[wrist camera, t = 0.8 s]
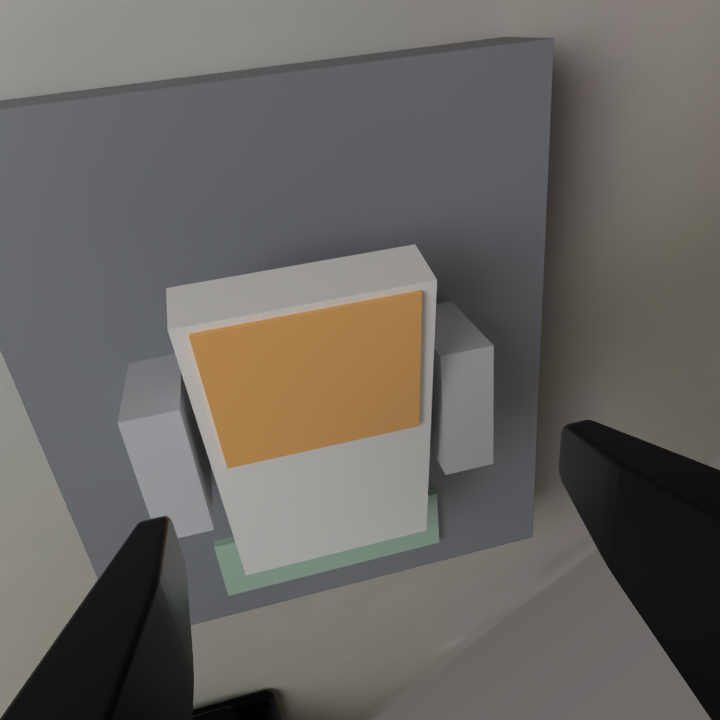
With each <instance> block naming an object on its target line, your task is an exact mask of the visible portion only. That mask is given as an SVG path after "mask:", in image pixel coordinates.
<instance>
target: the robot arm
mask: <svg viewBox="0 0 720 720" xmlns="http://www.w3.org/2000/svg"><path fill="white" fill-rule="evenodd" d="M559 473H560V477H561V480H562V483H563V485H564V487H565V488H566V490H567V492H568V494H569V496H570V498H571V500H572V502H573V503H574V505H575V507H576V509H577V511H578V513H579V515H580V517H581V518H582V520H583V522H584V524H585V526H586V528H587V530H588V532H589V533H590V535H591V537H592V539H593V541H594V543H595V545H596V547H597V548H598V550H599V552H600V554H601V556H602V557H603V559H604V561H605V563H606V564H607V566H608V568H609V569H610V571H611V572H612V574H613V575H614V577H615V578H616V580H617V581H618V583H619V584H620V586H621V587H622V589H623V590H624V592H625V593H626V595H627V596H628V598H629V599H630V601H631V602H632V604H633V605H634V606H635V608H636V609H637V611H638V612H639V614H640V615H641V617H642V618H643V620H644V621H645V622H646V624H647V625H648V627H649V628H650V630H651V631H652V633H653V634H654V636H655V637H656V638H657V640H658V642H659V643H660V645H661V646H662V648H663V649H664V651H665V652H666V653H667V655H668V656H669V658H670V659H671V661H672V662H673V664H674V665H675V667H676V668H677V669H678V671H679V673H680V674H681V676H682V677H683V678H684V680H685V681H686V683H687V684H688V686H689V687H690V689H691V690H692V692H693V693H694V695H695V696H696V697H697V699H698V700H699V702H700V703H701V705H702V706H703V708H704V709H705V711H706V712H707V714H708V715H709V717H710V718H711V719H712V720H720V470H718V469H715V468H713V467H710V466H708V465H705V464H702V463H700V462H697V461H695V460H692V459H690V458H687V457H684V456H682V455H679V454H677V453H674V452H672V451H669V450H667V449H664V448H661V447H659V446H656V445H654V444H651V443H649V442H646V441H643V440H641V439H638V438H636V437H633V436H631V435H628V434H626V433H623V432H620V431H618V430H615V429H613V428H610V427H608V426H605V425H602V424H600V423H597V422H595V421H592V420H584V421H579V422H575V423H570V424H567V425H566V426H564V427H563V429H562V432H561V443H560V456H559ZM193 692H194V671H193V652H192V638H191V625H190V611H189V598H188V584H187V572H186V565H185V560H184V557H183V553H182V550H181V547H180V544H179V541H178V538H177V535H176V532H175V528H174V525H173V523H172V520H171V519H170V518H169V517H168V516H161V517H157V518H152V519H148V520H143V521H141V522H139V523H138V524H137V525H136V526H135V528H134V529H133V531H132V532H131V533H130V535H129V536H128V538H127V539H126V540H125V542H124V543H123V545H122V546H121V548H120V549H119V550H118V552H117V553H116V555H115V556H114V558H113V559H112V560H111V562H110V563H109V565H108V566H107V568H106V569H105V570H104V572H103V573H102V575H101V576H100V577H99V579H98V580H97V582H96V583H95V585H94V586H93V587H92V589H91V590H90V592H89V593H88V595H87V596H86V597H85V599H84V600H83V602H82V603H81V605H80V606H79V607H78V609H77V610H76V612H75V613H74V615H73V616H72V617H71V619H70V620H69V622H68V623H67V624H66V626H65V627H64V629H63V630H62V632H61V633H60V634H59V636H58V637H57V639H56V640H55V642H54V643H53V644H52V646H51V647H50V649H49V650H48V652H47V653H46V654H45V656H44V657H43V659H42V660H41V661H40V663H39V664H38V666H37V667H36V669H35V670H34V671H33V673H32V674H31V676H30V677H29V679H28V680H27V681H26V683H25V684H24V686H23V687H22V689H21V690H20V691H19V693H18V694H17V696H16V697H15V698H14V700H13V701H12V703H11V704H10V706H9V707H8V708H7V710H6V711H5V713H4V714H3V716H2V717H1V718H0V720H281V719H280V716H279V712H278V708H277V704H276V701H275V697H274V695H273V693H271V692H261V693H257V694H254V695H250V696H246V697H243V698H239V699H236V700H232V701H228V702H225V703H221V704H218V705H214V706H211V707H207V708H203V709H200V710H196V711H193Z"/></svg>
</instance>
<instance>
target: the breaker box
mask: <svg viewBox="0 0 720 720" xmlns="http://www.w3.org/2000/svg"><path fill="white" fill-rule="evenodd" d="M553 51H554V38H523V37H502V38H494V39H486V40H478V41H470V42H462V43H454V44H447V45H439V46H431V47H423V48H415V49H407V50H399V51H391V52H383V53H375V54H367V55H360V56H352V57H344V58H336V59H328V60H320V61H312V62H304V63H296V64H288V65H280V66H272V67H265V68H257V69H249V70H241V71H233V72H225V73H217V74H209V75H201V76H193V77H185V78H178V79H170V80H162V81H154V82H146V83H138V84H130V85H122V86H114V87H106V88H98V89H90V90H83V91H75V92H67V93H59V94H51V95H43V96H35V97H27V98H19V99H11V100H3V101H0V350H1V352H2V355H3V357H4V359H5V362H6V364H7V367H8V369H9V371H10V374H11V376H12V378H13V381H14V383H15V385H16V388H17V390H18V392H19V395H20V397H21V399H22V402H23V404H24V406H25V409H26V411H27V413H28V416H29V418H30V420H31V423H32V425H33V427H34V430H35V432H36V434H37V437H38V439H39V442H40V444H41V446H42V449H43V451H44V453H45V456H46V458H47V460H48V463H49V465H50V467H51V470H52V472H53V474H54V477H55V479H56V481H57V484H58V486H59V488H60V491H61V493H62V495H63V498H64V500H65V502H66V505H67V507H68V509H69V512H70V514H71V516H72V519H73V521H74V524H75V526H76V528H77V531H78V533H79V535H80V538H81V540H82V542H83V545H84V547H85V549H86V552H87V554H88V556H89V559H90V561H91V563H92V566H93V568H94V570H95V573H96V575H97V577H98V579H99V577H100V576H101V575H102V573H103V572H104V570H105V569H106V568H107V566H108V565H109V563H110V562H111V560H112V559H113V558H114V556H115V555H116V553H117V552H118V550H119V549H120V548H121V546H122V545H123V543H124V542H125V540H126V539H127V538H128V536H129V535H130V533H131V532H132V531H133V529H134V528H135V526H136V525H137V524H138V523H139V522H141V521H143V520H148V519H152V518H157V517H161V516H168V517H169V518H170V519H171V520H172V523H173V525H174V528H175V532H176V535H177V538H178V541H179V544H180V547H181V550H182V553H183V557H184V560H185V565H186V572H187V584H188V598H189V611H190V625H193V624H197V623H201V622H205V621H209V620H213V619H217V618H220V617H224V616H228V615H232V614H236V613H240V612H244V611H248V610H251V609H255V608H259V607H263V606H267V605H271V604H275V603H279V602H282V601H286V600H290V599H294V598H298V597H302V596H306V595H309V594H313V593H317V592H321V591H325V590H329V589H333V588H337V587H340V586H344V585H348V584H352V583H356V582H360V581H364V580H368V579H371V578H375V577H379V576H383V575H387V574H391V573H395V572H399V571H402V570H406V569H410V568H414V567H418V566H422V565H426V564H429V563H433V562H437V561H441V560H445V559H449V558H453V557H457V556H460V555H464V554H468V553H472V552H476V551H480V550H484V549H488V548H491V547H495V546H499V545H503V544H507V543H511V542H515V541H519V540H522V539H526V538H530V537H532V536H533V512H534V489H535V466H536V443H537V420H538V397H539V374H540V351H541V328H542V305H543V282H544V259H545V235H546V212H547V189H548V166H549V143H550V120H551V97H552V74H553ZM414 244H415V245H416V246H417V248H418V250H419V251H420V253H421V254H422V256H423V258H424V259H425V261H426V263H427V264H428V266H429V267H430V269H431V271H432V272H433V274H434V276H435V277H436V279H437V294H436V317H435V341H434V365H433V388H432V412H431V436H430V459H429V483H428V507H427V530H426V531H423V532H419V533H415V534H411V535H407V536H403V537H399V538H395V539H391V540H387V541H383V542H379V543H375V544H371V545H367V546H363V547H359V548H355V549H351V550H347V551H343V552H339V553H335V554H331V555H327V556H323V557H319V558H315V559H311V560H307V561H303V562H299V563H295V564H291V565H287V566H283V567H279V568H275V569H271V570H267V571H262V572H258V573H254V574H250V575H246V574H245V571H244V568H243V565H242V562H241V558H240V555H239V552H238V549H237V546H236V543H235V540H234V536H233V533H232V530H231V527H230V524H229V521H228V518H227V515H226V511H225V508H224V505H223V502H222V499H221V496H220V493H219V490H218V486H217V483H216V480H215V477H214V474H213V471H212V468H211V464H210V461H209V458H208V455H207V452H206V449H205V446H204V443H203V439H202V436H201V433H200V430H199V427H198V424H197V421H196V417H195V414H194V411H193V408H192V405H191V402H190V399H189V396H188V392H187V389H186V386H185V383H184V380H183V377H182V374H181V370H180V367H179V364H178V361H177V358H176V355H175V352H174V349H173V345H172V342H171V339H170V336H169V333H168V328H167V301H166V288H170V287H175V286H181V285H187V284H192V283H198V282H204V281H209V280H215V279H221V278H226V277H232V276H238V275H243V274H249V273H255V272H260V271H266V270H272V269H277V268H283V267H289V266H294V265H300V264H306V263H311V262H317V261H323V260H329V259H334V258H340V257H346V256H351V255H357V254H363V253H368V252H374V251H380V250H385V249H391V248H397V247H402V246H408V245H414Z"/></svg>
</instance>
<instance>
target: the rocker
mask: <svg viewBox="0 0 720 720" xmlns="http://www.w3.org/2000/svg"><path fill="white" fill-rule="evenodd" d="M436 294H437V279H436V277H435V276H434V274H433V272H432V271H431V269H430V267H429V266H428V264H427V263H426V261H425V259H424V258H423V256H422V254H421V253H420V251H419V250H418V248H417V246H416V245H415V244H414V245H408V246H402V247H397V248H391V249H385V250H380V251H374V252H368V253H363V254H357V255H351V256H346V257H340V258H334V259H329V260H323V261H317V262H311V263H306V264H300V265H294V266H289V267H283V268H277V269H272V270H266V271H260V272H255V273H249V274H243V275H238V276H232V277H226V278H221V279H215V280H209V281H204V282H198V283H192V284H187V285H181V286H175V287H170V288H166V301H167V328H168V333H169V336H170V339H171V342H172V345H173V349H174V352H175V355H176V358H177V361H178V364H179V367H180V370H181V374H182V377H183V380H184V383H185V386H186V389H187V392H188V396H189V399H190V402H191V405H192V408H193V411H194V414H195V417H196V421H197V424H198V427H199V430H200V433H201V436H202V439H203V443H204V446H205V449H206V452H207V455H208V458H209V461H210V464H211V468H212V471H213V474H214V477H215V480H216V483H217V486H218V490H219V493H220V496H221V499H222V502H223V505H224V508H225V511H226V515H227V518H228V521H229V524H230V527H231V530H232V533H233V536H234V540H235V543H236V546H237V549H238V552H239V555H240V558H241V562H242V565H243V568H244V571H245V574H246V575H250V574H254V573H258V572H262V571H267V570H271V569H275V568H279V567H283V566H287V565H291V564H295V563H299V562H303V561H307V560H311V559H315V558H319V557H323V556H327V555H331V554H335V553H339V552H343V551H347V550H351V549H355V548H359V547H363V546H367V545H371V544H375V543H379V542H383V541H387V540H391V539H395V538H399V537H403V536H407V535H411V534H415V533H419V532H423V531H426V530H427V507H428V483H429V459H430V436H431V412H432V388H433V365H434V341H435V317H436Z"/></svg>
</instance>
